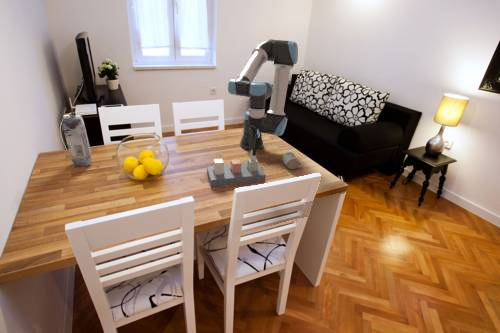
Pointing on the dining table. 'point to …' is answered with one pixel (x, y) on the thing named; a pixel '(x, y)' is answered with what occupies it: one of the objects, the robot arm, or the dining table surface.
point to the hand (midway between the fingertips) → (253, 160)
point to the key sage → (252, 165)
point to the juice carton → (77, 140)
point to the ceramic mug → (291, 161)
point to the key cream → (218, 166)
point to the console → (235, 176)
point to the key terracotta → (235, 166)
